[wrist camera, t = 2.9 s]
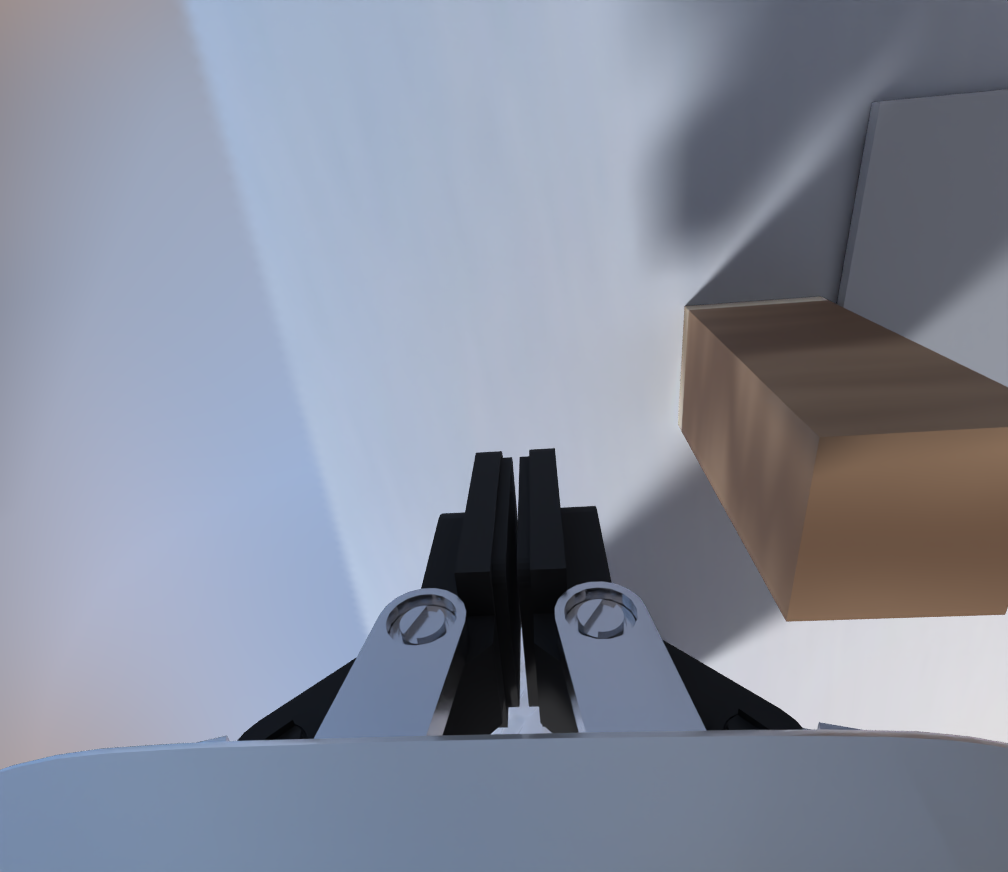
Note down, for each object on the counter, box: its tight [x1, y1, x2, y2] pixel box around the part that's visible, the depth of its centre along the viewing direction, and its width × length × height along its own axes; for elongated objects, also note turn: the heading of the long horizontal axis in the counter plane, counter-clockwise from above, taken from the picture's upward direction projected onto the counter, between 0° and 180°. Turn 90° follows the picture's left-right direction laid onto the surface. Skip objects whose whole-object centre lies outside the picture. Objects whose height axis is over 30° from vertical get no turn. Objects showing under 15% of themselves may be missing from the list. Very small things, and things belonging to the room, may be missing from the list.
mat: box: [837, 89, 1008, 387], centre depth 17 cm, size 14×8×1 cm, turn 5°
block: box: [678, 296, 1008, 621], centre depth 14 cm, size 4×4×9 cm
